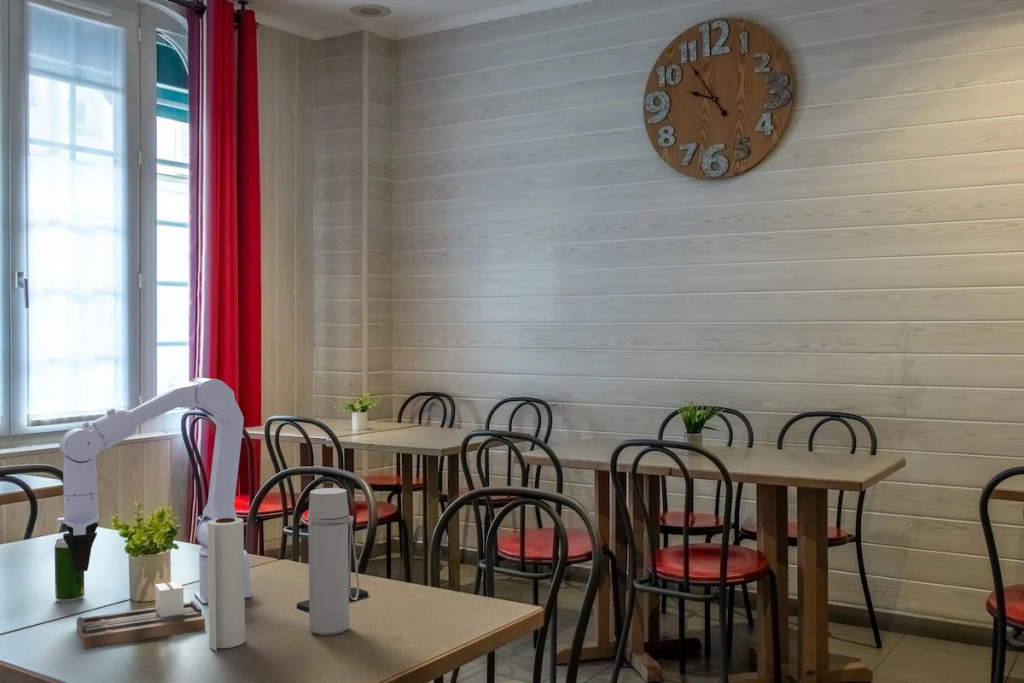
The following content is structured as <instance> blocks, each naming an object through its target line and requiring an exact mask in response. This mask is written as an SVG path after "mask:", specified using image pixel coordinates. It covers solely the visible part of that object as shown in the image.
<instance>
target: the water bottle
mask: <svg viewBox="0 0 1024 683" xmlns="http://www.w3.org/2000/svg"><path fill="white" fill-rule="evenodd" d="M347 493H348V491H347V489H345V488H340V487H325V488H323V487H322V488H317V489H312V490H310V492H309V501H308V502H309V503H308V514H307V516H306V517H307V521H308V524H307V525H308V526H307V528H308V529H307V530H308V533H307V534H308V536H307V537H308V594H309V595H308V600H309V612H308V613H309V614H308V615H309V630H310V632H311V633H314V634H315V635H318V634H319V635H318V636H334V635H333V634H335V635H339V634H342V633H344V632H345V631H347V630H348V629H349V627H350V602H349V596H350V598H351V599H352V600H354V601H357V599H358V595H359V589H360V580H359V573H358V572H359V571H358V565H357V564H358V563H357V556H356V548H355V547H356V546H355V541H354V539H355V538H354V533H353V532H354V531H353V523H354V516H352V515H350V512H349V511H350V510H349V502H348V501H349V500H348V494H347ZM352 552H353V560H354V568H355V569H354V570H355V577H356V588H357V593H356V597H355V598H352V596H351V588H352V587H351V586H352ZM358 600H359V599H358ZM338 633H339V634H338Z"/></svg>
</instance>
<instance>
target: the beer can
mask: <svg viewBox="0 0 1024 683" xmlns="http://www.w3.org/2000/svg"><path fill="white" fill-rule="evenodd" d="M54 584H55V585H54V591H55V592H54V593H55V594H54V596H55V599H56V602H57V603H61V604H62V603H63V604H65V603H67V604H68V603H74V602H78V601H79V602H80V601H82V600H83V599H84V597H85V571H80V572H75V570H74V567H73V562H72V558H71V553H70V550H69V548H68V546H67V544H66V542H65V540H64V538H63V537H60V538H57V539H55V543H54Z"/></svg>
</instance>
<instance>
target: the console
mask: <svg viewBox="0 0 1024 683" xmlns="http://www.w3.org/2000/svg"><path fill="white" fill-rule="evenodd" d="M75 620H76V632H77V634H78V636H79V639H80V641H81V642H80V643H81V644H82V646H83V649H84V650H85V649H92V648H98V647H104V646H111V645H117V644H122V643H123V644H124V643H129V642H130V643H131V642H136V641H143V640H148V639H154V638H155V639H156V638H163V637H168V636H175V635H179V634H180V635H181V634H186V633H191V632H192V633H193V632H198V631H204V630H206V618H205V617H204V616H203V614H202V608H201V607H200V606H199V604H198V603H197V602H196V601H195V600H191V601H190V602H184V614H180V615H173V616H167V617H160V616H159V614H158V613H157V612H156V606H155V607H149V608H141V609H134V610H133V609H132V610H128V611H121V612H115V613H107V614H98V615H92V616H85V617H82V616H79V617H77V618H76V619H75Z"/></svg>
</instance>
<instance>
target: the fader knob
mask: <svg viewBox="0 0 1024 683" xmlns="http://www.w3.org/2000/svg"><path fill="white" fill-rule="evenodd" d="M154 588H155V589H154V590H155V591H154V593H155V596H154V597H155V599H154V600H155V602H154V603H155V607H156V612H157V613H158V614H159V616H160V617H167V616H173V615H180V614H184V603H185V602H184V586H183V585H182V584H181V583H180V582H179V581H171V582H168V581H167V582H163V583H156V584H154Z"/></svg>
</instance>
